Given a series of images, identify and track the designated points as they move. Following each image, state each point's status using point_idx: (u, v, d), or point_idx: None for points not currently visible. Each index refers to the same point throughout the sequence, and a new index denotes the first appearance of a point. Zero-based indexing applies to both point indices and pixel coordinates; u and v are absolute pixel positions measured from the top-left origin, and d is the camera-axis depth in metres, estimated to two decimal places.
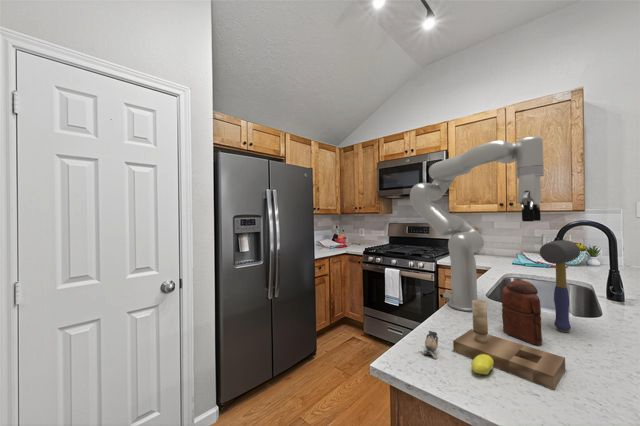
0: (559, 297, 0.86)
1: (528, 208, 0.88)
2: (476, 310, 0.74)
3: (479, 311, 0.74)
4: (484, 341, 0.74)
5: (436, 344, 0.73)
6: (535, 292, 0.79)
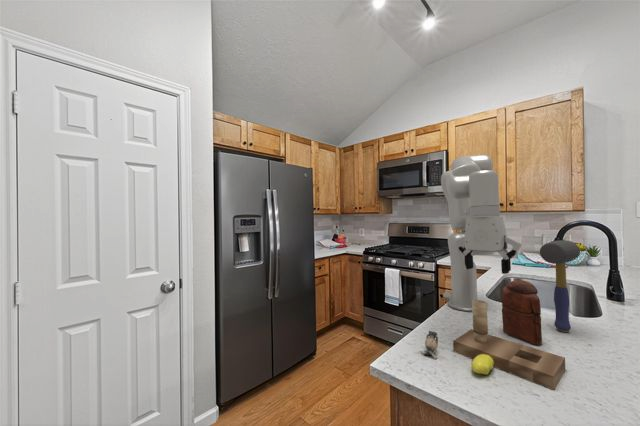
0: (559, 297, 0.86)
1: (511, 257, 0.72)
2: (476, 310, 0.74)
3: (479, 311, 0.74)
4: (484, 341, 0.74)
5: (436, 344, 0.73)
6: (535, 292, 0.79)
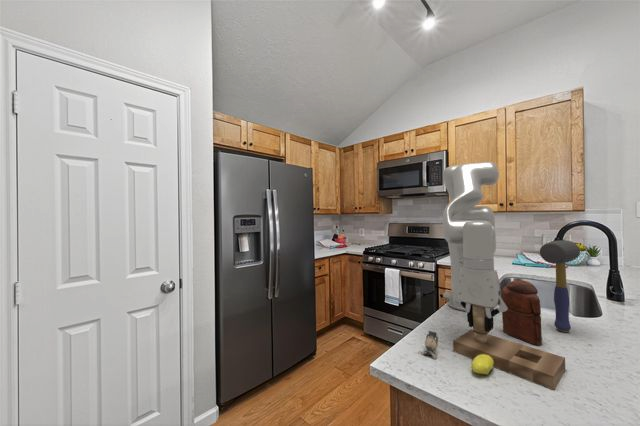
0: (559, 297, 0.86)
1: (494, 315, 0.73)
2: (476, 310, 0.74)
3: (479, 311, 0.74)
4: (484, 341, 0.74)
5: (436, 344, 0.73)
6: (535, 292, 0.79)
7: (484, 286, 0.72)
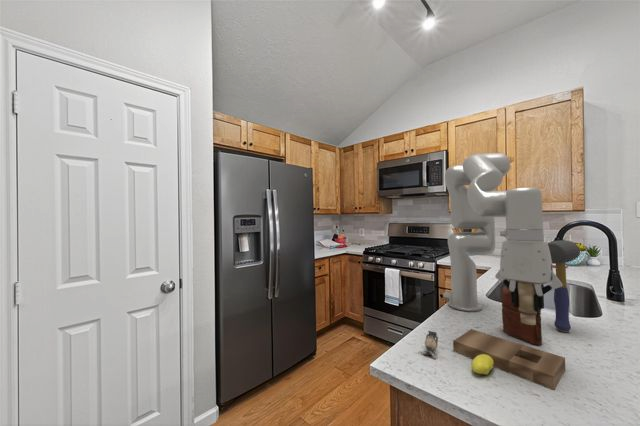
0: (559, 297, 0.86)
1: (544, 293, 0.64)
2: (523, 287, 0.65)
3: (527, 288, 0.65)
4: (533, 323, 0.65)
5: (436, 344, 0.73)
6: None
7: (534, 259, 0.63)
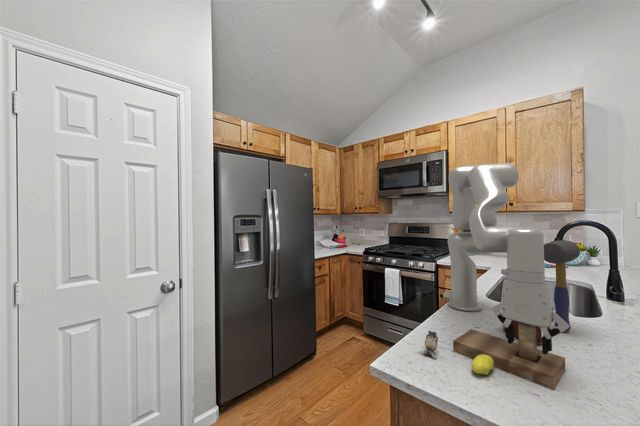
0: (559, 297, 0.86)
1: None
2: (524, 334, 0.66)
3: (528, 335, 0.65)
4: None
5: (436, 344, 0.73)
6: None
7: (535, 302, 0.63)
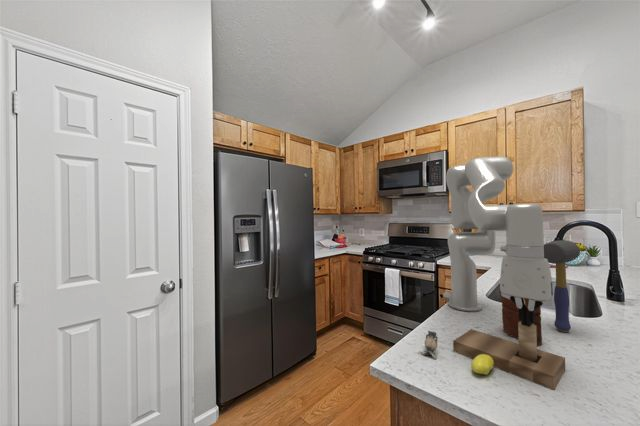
0: (559, 297, 0.86)
1: None
2: (524, 333, 0.66)
3: (528, 335, 0.65)
4: None
5: (436, 344, 0.73)
6: None
7: (534, 276, 0.63)
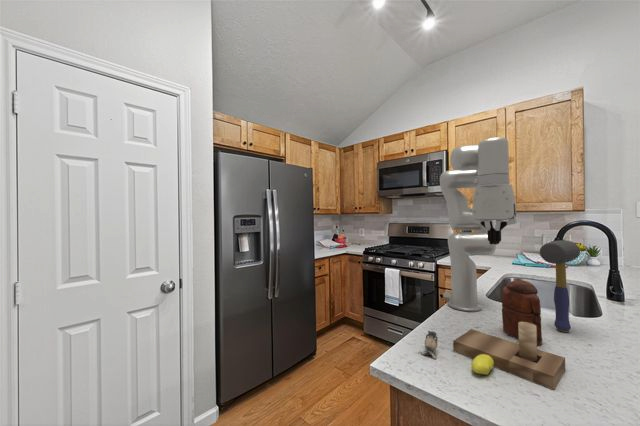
0: (559, 297, 0.86)
1: None
2: (524, 334, 0.66)
3: (528, 335, 0.65)
4: None
5: (436, 344, 0.73)
6: (535, 292, 0.79)
7: (500, 199, 0.73)
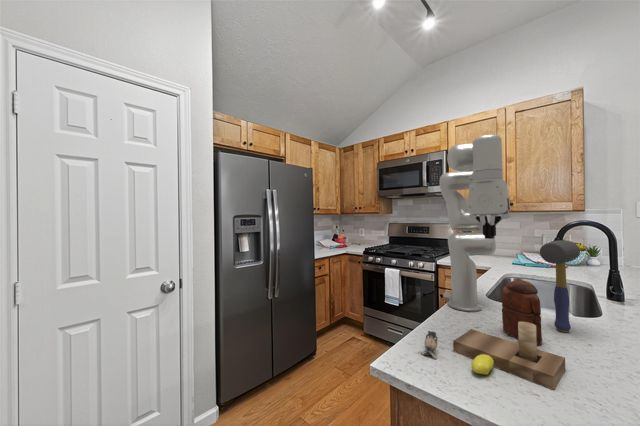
0: (559, 297, 0.86)
1: (496, 223, 0.77)
2: (524, 333, 0.66)
3: (528, 335, 0.65)
4: None
5: (436, 344, 0.73)
6: (535, 292, 0.79)
7: (493, 194, 0.75)
